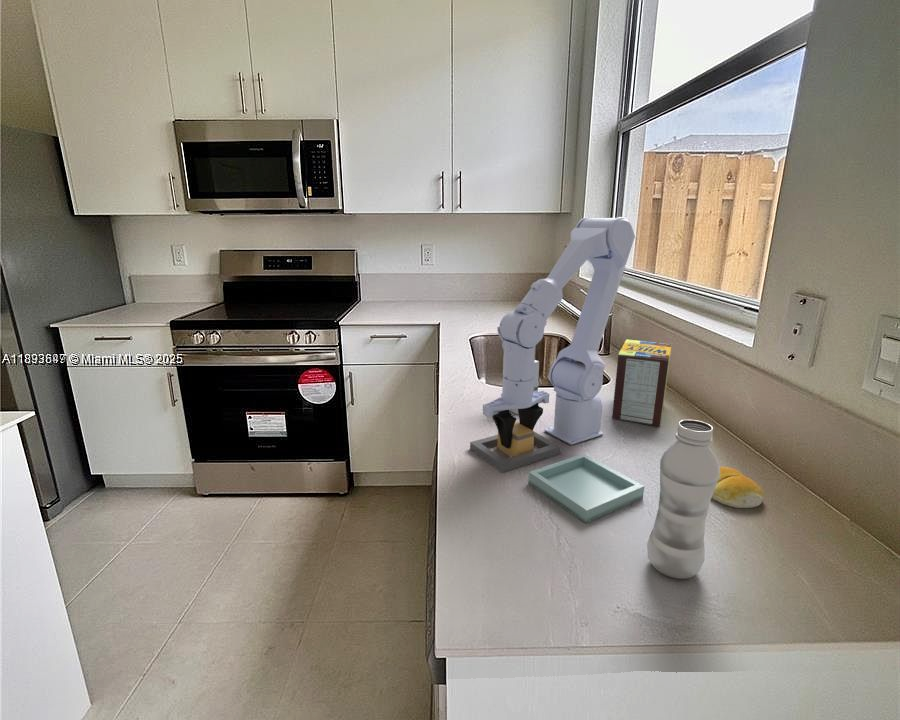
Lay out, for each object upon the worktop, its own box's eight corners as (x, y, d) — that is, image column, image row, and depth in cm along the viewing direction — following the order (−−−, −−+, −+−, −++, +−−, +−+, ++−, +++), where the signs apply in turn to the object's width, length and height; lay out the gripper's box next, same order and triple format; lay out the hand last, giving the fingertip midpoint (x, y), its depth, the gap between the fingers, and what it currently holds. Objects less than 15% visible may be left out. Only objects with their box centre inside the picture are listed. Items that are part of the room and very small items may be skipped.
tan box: (513, 443, 95) (514, 420, 94) (533, 455, 90) (534, 431, 89) (497, 447, 93) (497, 424, 92) (516, 460, 88) (517, 436, 87)
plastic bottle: (635, 552, 64) (653, 415, 58) (683, 550, 64) (706, 413, 59) (660, 588, 57) (683, 438, 52) (712, 584, 58) (741, 436, 52)
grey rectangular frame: (525, 433, 100) (525, 426, 99) (560, 453, 91) (561, 446, 91) (470, 449, 93) (470, 442, 92) (502, 472, 84) (502, 464, 84)
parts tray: (582, 464, 87) (583, 453, 86) (642, 498, 76) (644, 486, 76) (528, 483, 80) (529, 472, 80) (585, 523, 70) (587, 510, 69)
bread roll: (732, 478, 83) (736, 458, 81) (771, 508, 74) (776, 485, 73) (688, 481, 82) (691, 460, 81) (722, 511, 73) (727, 489, 72)
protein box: (663, 404, 116) (672, 343, 112) (660, 427, 103) (669, 359, 98) (619, 397, 120) (625, 338, 116) (610, 419, 107) (617, 353, 103)
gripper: (533, 365, 94) (530, 427, 98) (473, 377, 87) (472, 443, 91) (558, 374, 89) (554, 440, 92) (496, 388, 81) (494, 459, 85)
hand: (515, 443), depth 91 cm, fingers closed on tan box, 4 cm apart
